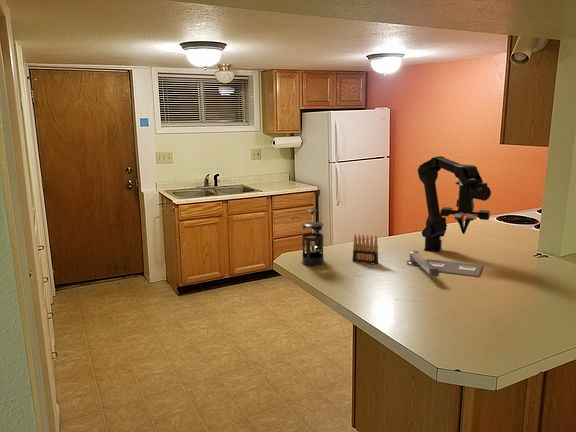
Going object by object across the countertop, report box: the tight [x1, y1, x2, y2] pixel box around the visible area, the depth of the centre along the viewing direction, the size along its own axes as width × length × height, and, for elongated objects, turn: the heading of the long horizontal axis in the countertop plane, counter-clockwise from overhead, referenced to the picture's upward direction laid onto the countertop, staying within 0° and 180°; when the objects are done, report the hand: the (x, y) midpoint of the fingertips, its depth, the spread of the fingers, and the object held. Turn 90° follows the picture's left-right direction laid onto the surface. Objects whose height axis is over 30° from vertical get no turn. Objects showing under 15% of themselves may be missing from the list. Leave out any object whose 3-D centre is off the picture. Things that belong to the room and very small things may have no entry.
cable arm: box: [409, 250, 440, 277], centre depth 184 cm, size 26×4×2 cm, turn 3°
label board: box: [419, 258, 483, 278], centre depth 188 cm, size 22×14×1 cm, turn 62°
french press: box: [301, 208, 325, 267], centre depth 198 cm, size 12×9×23 cm
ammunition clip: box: [352, 233, 379, 265], centre depth 198 cm, size 11×2×12 cm, turn 65°
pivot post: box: [405, 257, 420, 267], centre depth 195 cm, size 6×6×3 cm
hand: (463, 233), depth 195 cm, fingers closed
